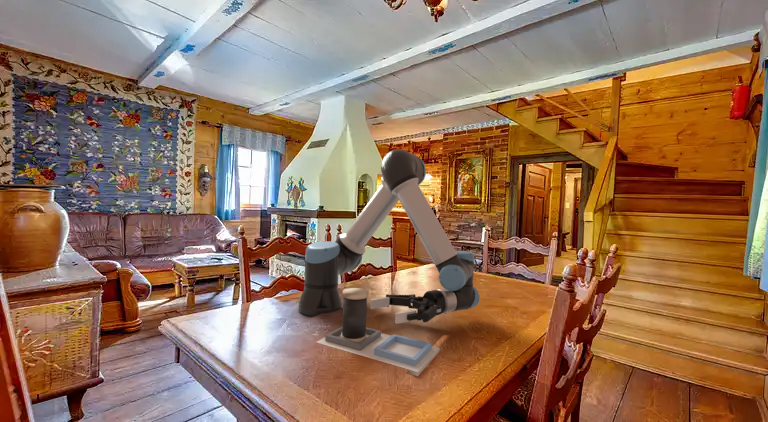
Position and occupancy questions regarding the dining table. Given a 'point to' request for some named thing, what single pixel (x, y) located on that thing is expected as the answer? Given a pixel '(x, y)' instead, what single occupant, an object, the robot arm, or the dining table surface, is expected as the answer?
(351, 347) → the grey flat tray
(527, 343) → the dining table surface
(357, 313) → the cable spool
